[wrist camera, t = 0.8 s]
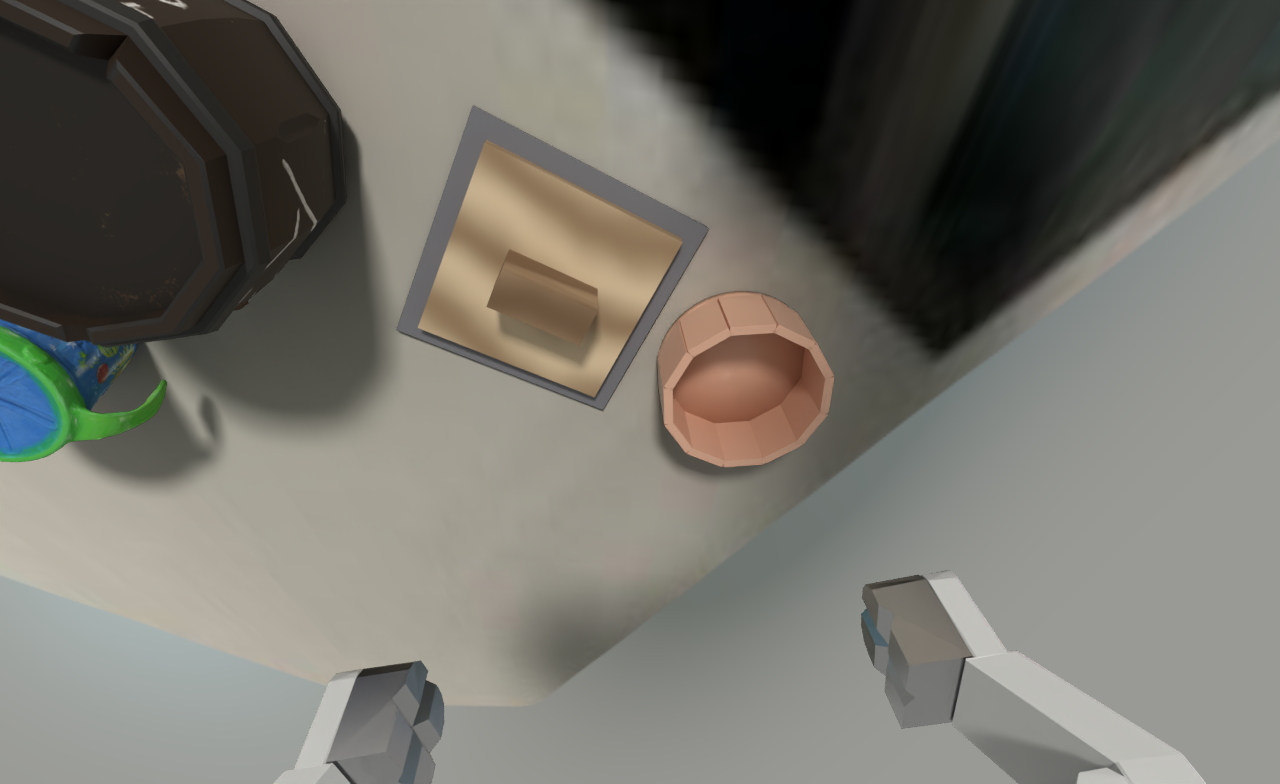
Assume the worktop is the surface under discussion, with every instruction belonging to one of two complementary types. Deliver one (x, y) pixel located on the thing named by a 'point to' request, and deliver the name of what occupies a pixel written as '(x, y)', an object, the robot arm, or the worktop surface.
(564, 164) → the mat
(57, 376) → the snack cup
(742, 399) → the bowl
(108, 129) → the barrel
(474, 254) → the lid
